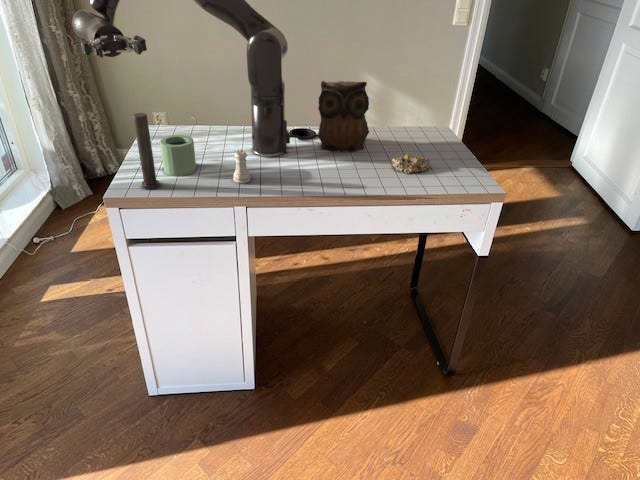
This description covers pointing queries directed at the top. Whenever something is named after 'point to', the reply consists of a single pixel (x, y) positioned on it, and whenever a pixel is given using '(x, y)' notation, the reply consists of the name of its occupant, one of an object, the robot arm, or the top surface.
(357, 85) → the owl
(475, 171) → the top surface
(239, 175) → the rook chess piece
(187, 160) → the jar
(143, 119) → the rod
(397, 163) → the mineral rock
